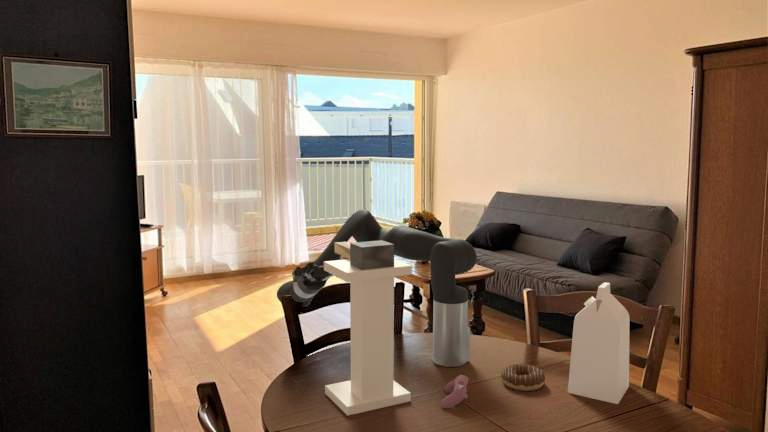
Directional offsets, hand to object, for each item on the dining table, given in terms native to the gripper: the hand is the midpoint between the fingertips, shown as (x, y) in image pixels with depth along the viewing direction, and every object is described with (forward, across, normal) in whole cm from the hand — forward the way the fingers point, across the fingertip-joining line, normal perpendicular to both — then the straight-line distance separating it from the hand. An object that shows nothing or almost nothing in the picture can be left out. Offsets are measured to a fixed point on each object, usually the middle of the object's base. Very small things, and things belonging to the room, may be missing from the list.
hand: (327, 263), depth 160 cm
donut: (+16, +38, +41) cm, 58 cm away
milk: (+25, +52, +47) cm, 74 cm away
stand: (+7, 0, +36) cm, 36 cm away
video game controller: (+16, +17, +42) cm, 48 cm away
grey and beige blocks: (+19, 0, +6) cm, 20 cm away
